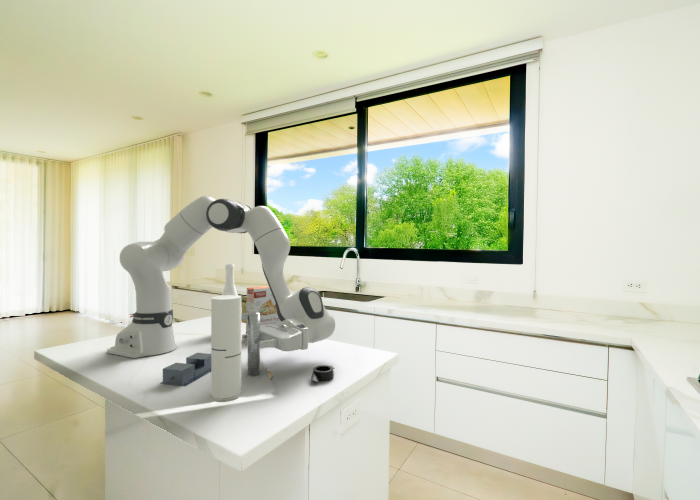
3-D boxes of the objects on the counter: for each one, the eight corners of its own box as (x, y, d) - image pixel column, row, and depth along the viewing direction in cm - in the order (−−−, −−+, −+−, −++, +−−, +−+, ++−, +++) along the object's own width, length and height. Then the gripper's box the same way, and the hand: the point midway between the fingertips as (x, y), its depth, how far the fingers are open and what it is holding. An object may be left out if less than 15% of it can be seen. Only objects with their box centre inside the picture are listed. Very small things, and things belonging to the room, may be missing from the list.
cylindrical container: (216, 390, 91) (216, 295, 91) (244, 389, 92) (244, 295, 91) (207, 402, 84) (207, 299, 84) (237, 401, 85) (237, 299, 84)
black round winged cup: (301, 377, 101) (301, 367, 101) (331, 371, 106) (332, 361, 106) (313, 387, 94) (313, 376, 94) (345, 379, 100) (345, 369, 100)
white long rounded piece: (227, 330, 153) (228, 262, 153) (246, 332, 150) (246, 263, 150) (212, 336, 144) (212, 264, 144) (231, 338, 141) (231, 264, 141)
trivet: (225, 382, 96) (225, 380, 96) (245, 369, 107) (245, 367, 107) (262, 386, 94) (262, 384, 94) (279, 372, 104) (279, 370, 104)
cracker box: (253, 341, 137) (253, 288, 136) (245, 338, 141) (245, 287, 140) (282, 335, 147) (282, 285, 147) (274, 332, 151) (274, 284, 151)
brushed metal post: (259, 372, 102) (258, 311, 102) (260, 376, 99) (260, 313, 99) (232, 375, 100) (232, 313, 99) (233, 380, 97) (233, 315, 96)
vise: (185, 390, 91) (185, 371, 91) (159, 387, 93) (159, 368, 93) (217, 370, 105) (217, 354, 105) (194, 368, 107) (194, 352, 107)
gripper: (273, 317, 116) (234, 324, 107) (311, 328, 102) (269, 337, 92) (273, 336, 117) (234, 344, 107) (310, 350, 102) (269, 361, 92)
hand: (250, 341), depth 99 cm, fingers open, 8 cm apart
